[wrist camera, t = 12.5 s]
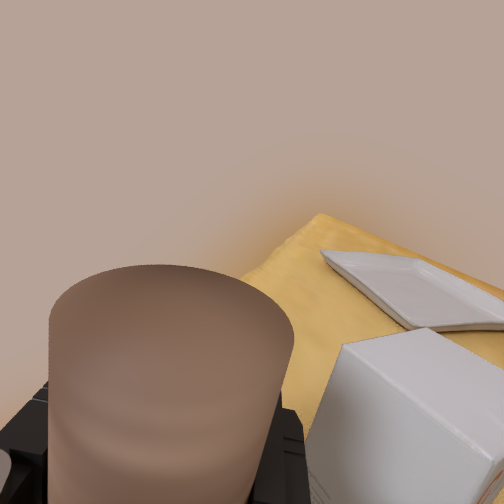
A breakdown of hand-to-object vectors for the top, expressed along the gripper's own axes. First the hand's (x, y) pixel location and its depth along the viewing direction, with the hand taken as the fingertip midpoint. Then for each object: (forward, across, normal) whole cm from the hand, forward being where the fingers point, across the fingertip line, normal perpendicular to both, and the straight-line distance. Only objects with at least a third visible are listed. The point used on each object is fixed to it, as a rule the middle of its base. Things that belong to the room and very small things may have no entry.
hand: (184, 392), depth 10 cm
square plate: (+47, -32, +13) cm, 59 cm away
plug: (-3, 0, +8) cm, 8 cm away
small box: (+3, -10, +13) cm, 17 cm away
